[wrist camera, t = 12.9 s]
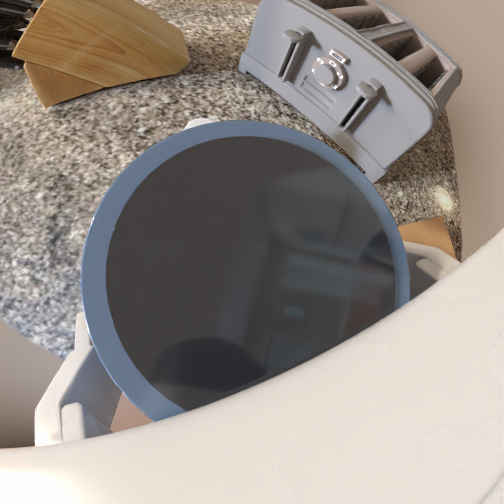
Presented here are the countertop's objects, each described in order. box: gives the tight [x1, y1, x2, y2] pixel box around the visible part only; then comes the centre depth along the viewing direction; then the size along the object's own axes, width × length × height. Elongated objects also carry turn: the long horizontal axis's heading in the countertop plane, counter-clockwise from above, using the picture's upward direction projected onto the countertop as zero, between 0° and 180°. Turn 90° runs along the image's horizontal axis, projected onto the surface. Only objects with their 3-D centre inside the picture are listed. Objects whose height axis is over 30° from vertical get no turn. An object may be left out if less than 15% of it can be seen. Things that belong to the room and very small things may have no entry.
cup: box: [80, 120, 410, 422], centre depth 9 cm, size 6×6×9 cm
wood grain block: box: [397, 216, 457, 260], centre depth 35 cm, size 12×12×8 cm
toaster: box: [238, 0, 462, 184], centre depth 39 cm, size 31×36×17 cm
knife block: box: [0, 0, 191, 108], centre depth 22 cm, size 11×35×31 cm, turn 107°
